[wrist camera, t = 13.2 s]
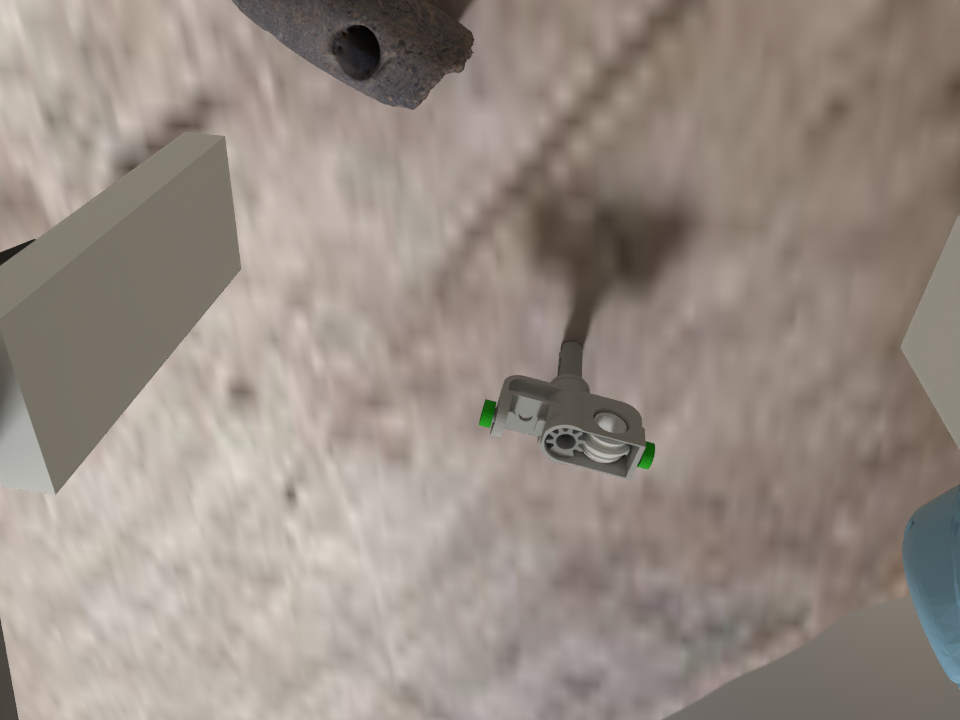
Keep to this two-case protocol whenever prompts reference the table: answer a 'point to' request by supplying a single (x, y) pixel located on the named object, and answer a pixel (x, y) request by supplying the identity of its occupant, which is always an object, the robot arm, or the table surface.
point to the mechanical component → (572, 420)
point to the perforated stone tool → (370, 42)
